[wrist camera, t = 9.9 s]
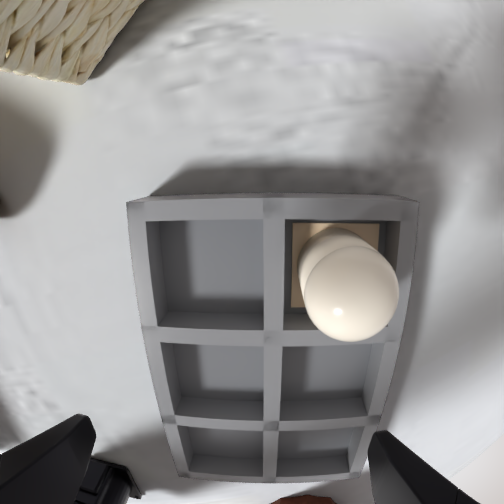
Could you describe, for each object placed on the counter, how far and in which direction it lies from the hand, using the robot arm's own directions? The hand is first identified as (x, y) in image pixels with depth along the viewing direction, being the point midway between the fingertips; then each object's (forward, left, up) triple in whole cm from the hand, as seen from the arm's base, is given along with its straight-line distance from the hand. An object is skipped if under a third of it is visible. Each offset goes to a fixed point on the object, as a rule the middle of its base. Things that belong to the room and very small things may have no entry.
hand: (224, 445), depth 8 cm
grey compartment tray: (-4, -1, -11) cm, 12 cm away
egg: (+2, -5, -10) cm, 12 cm away
